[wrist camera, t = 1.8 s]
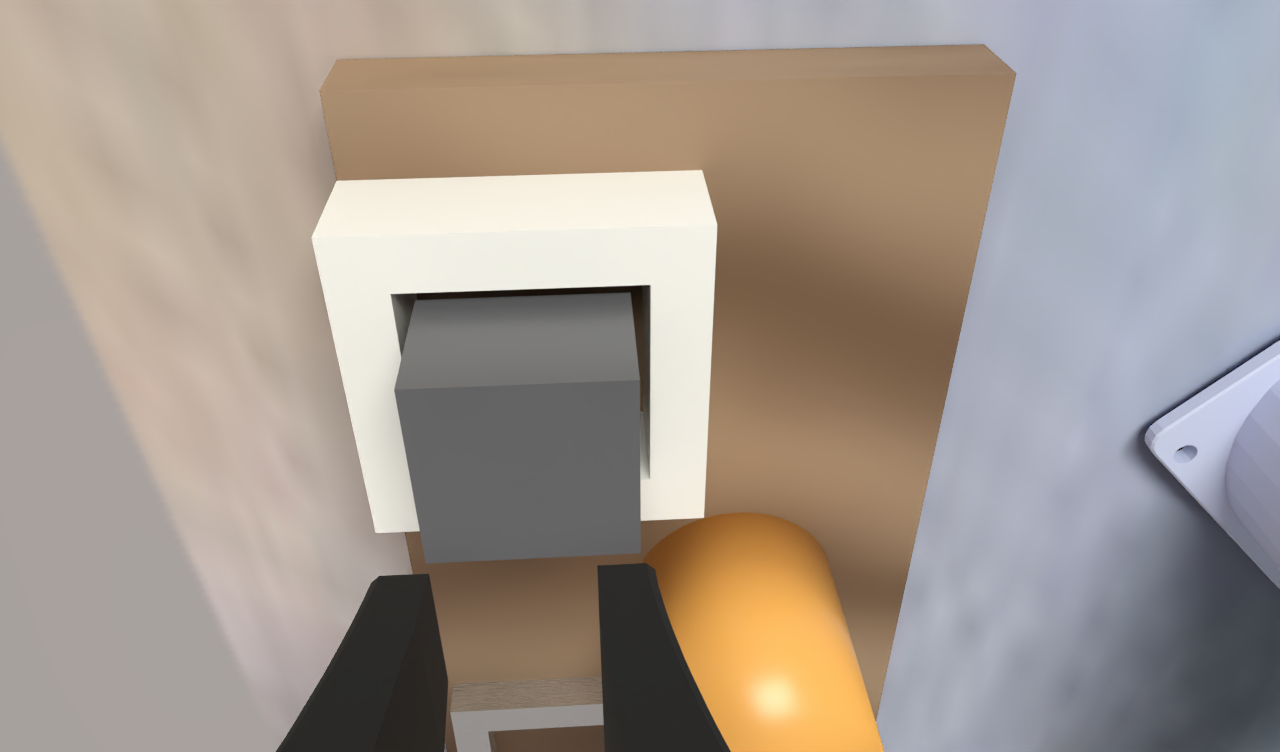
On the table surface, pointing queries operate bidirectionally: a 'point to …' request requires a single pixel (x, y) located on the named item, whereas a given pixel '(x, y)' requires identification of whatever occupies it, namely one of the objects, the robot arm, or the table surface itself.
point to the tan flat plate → (730, 294)
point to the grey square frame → (522, 708)
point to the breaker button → (523, 426)
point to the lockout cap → (765, 635)
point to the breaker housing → (525, 259)
